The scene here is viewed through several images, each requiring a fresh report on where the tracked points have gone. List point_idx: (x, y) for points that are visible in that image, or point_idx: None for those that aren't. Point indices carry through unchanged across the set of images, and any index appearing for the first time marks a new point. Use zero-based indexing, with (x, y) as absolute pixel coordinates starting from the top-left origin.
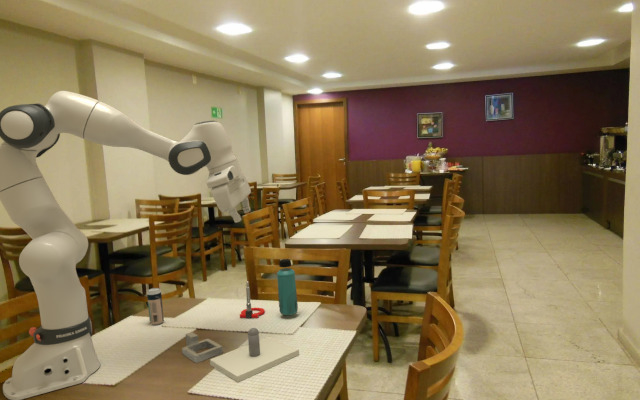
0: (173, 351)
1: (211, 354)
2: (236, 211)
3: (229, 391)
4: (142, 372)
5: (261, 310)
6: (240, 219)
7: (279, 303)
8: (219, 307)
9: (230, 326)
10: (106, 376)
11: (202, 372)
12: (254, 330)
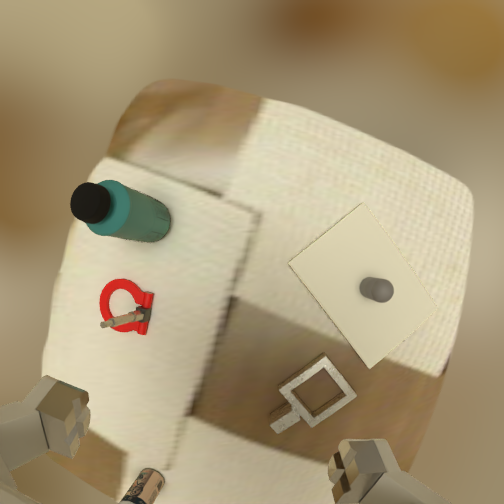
0: (292, 438)
1: (338, 371)
2: (429, 499)
3: (453, 315)
4: None
5: (120, 286)
6: (373, 442)
7: (147, 240)
8: (83, 375)
9: (188, 351)
10: None
11: (390, 372)
12: (391, 287)
